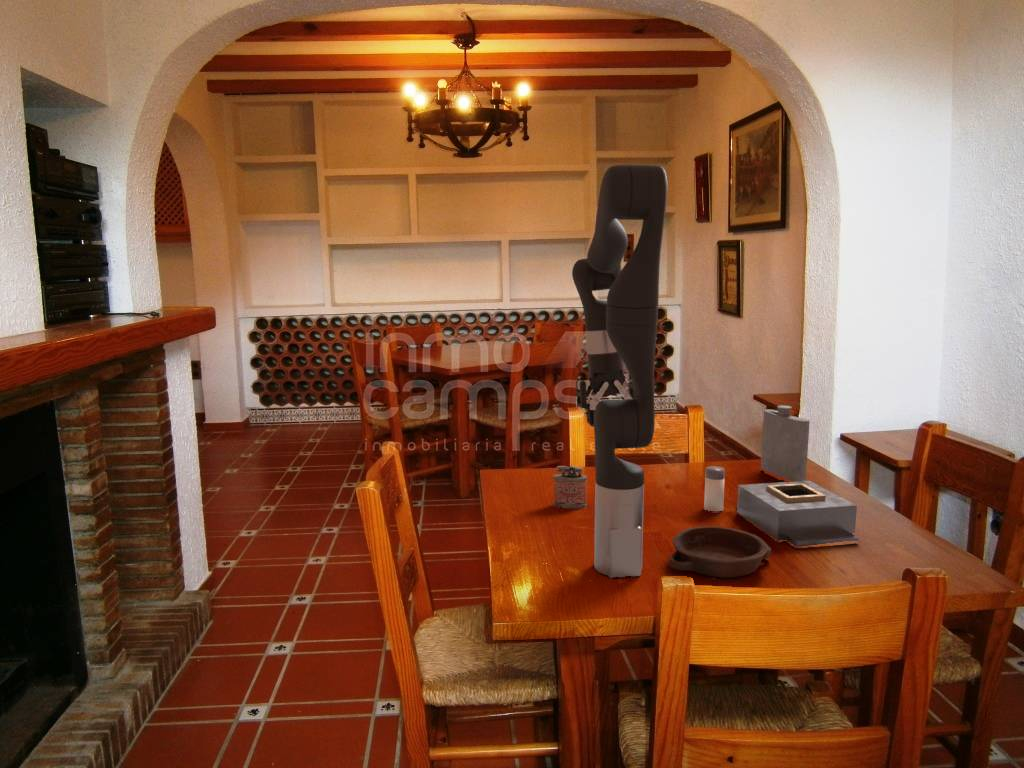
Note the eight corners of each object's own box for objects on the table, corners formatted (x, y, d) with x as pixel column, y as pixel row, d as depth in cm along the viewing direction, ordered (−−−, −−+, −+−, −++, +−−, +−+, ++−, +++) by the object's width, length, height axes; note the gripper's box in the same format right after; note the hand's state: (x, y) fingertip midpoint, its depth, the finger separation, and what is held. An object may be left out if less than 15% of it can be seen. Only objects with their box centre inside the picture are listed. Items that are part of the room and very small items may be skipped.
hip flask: (808, 485, 194) (813, 411, 190) (795, 487, 192) (800, 412, 189) (767, 469, 208) (771, 400, 205) (755, 471, 207) (759, 401, 204)
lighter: (586, 503, 180) (587, 464, 179) (586, 508, 177) (587, 468, 175) (553, 503, 181) (554, 463, 179) (553, 507, 178) (553, 467, 176)
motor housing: (866, 543, 154) (869, 507, 153) (787, 549, 151) (789, 512, 150) (798, 503, 180) (800, 471, 178) (729, 508, 177) (730, 475, 175)
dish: (646, 556, 149) (647, 533, 148) (738, 542, 156) (739, 519, 155) (695, 592, 133) (696, 566, 132) (795, 575, 140) (796, 550, 139)
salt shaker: (726, 511, 174) (728, 470, 172) (708, 512, 173) (710, 472, 172) (718, 505, 178) (719, 465, 177) (701, 506, 178) (702, 466, 176)
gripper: (582, 355, 154) (589, 431, 156) (641, 346, 159) (647, 420, 161) (567, 353, 161) (574, 426, 163) (624, 345, 166) (630, 415, 168)
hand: (610, 423), depth 162 cm, fingers open, 8 cm apart
